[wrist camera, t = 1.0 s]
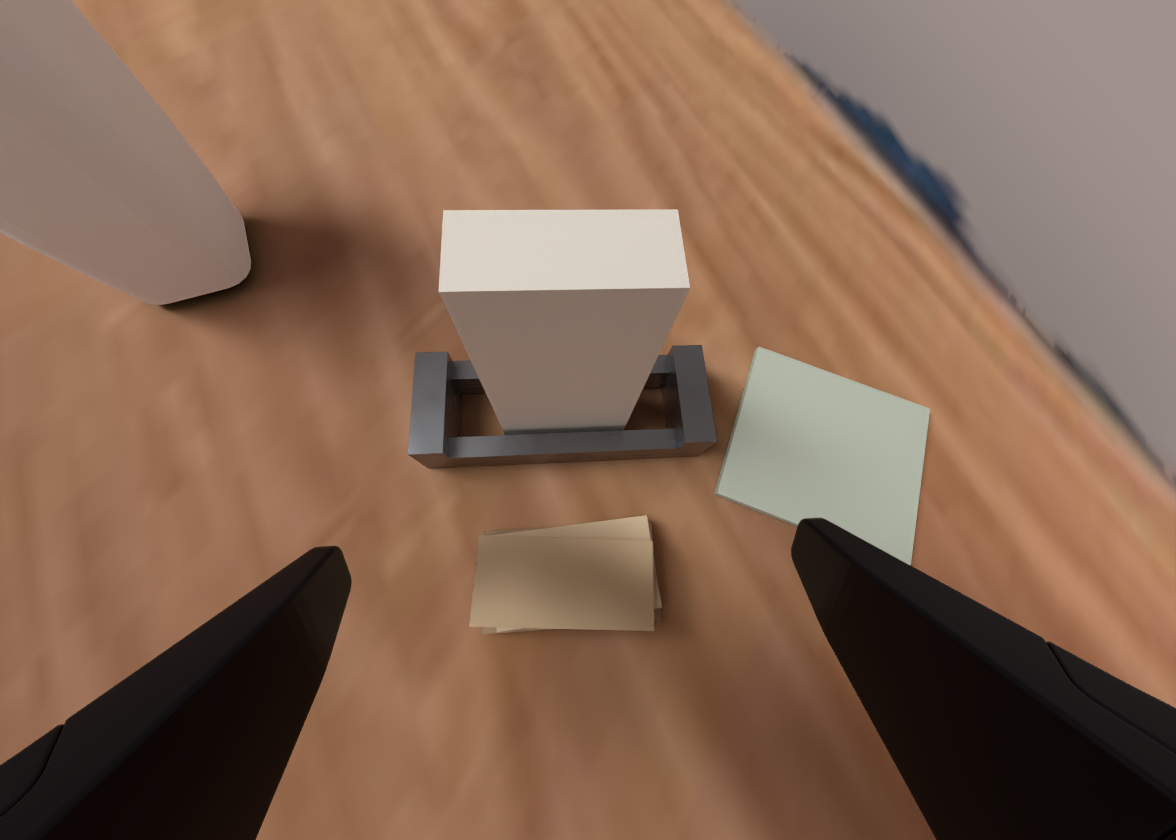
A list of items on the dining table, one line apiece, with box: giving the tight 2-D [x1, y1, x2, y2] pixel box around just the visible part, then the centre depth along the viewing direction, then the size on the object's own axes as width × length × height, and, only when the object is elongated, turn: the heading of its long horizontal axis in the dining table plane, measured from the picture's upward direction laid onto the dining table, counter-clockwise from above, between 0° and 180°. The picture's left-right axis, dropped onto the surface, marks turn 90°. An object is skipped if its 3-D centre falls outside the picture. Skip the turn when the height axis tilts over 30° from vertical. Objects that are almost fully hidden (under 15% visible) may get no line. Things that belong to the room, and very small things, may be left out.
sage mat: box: [714, 347, 930, 566], centre depth 23 cm, size 9×10×1 cm
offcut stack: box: [469, 515, 662, 634], centre depth 19 cm, size 5×8×2 cm, turn 93°
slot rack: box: [408, 345, 717, 468], centre depth 21 cm, size 5×14×3 cm, turn 93°
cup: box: [0, 0, 251, 305], centre depth 17 cm, size 7×7×15 cm
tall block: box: [439, 210, 690, 435], centre depth 17 cm, size 2×6×13 cm, turn 93°
